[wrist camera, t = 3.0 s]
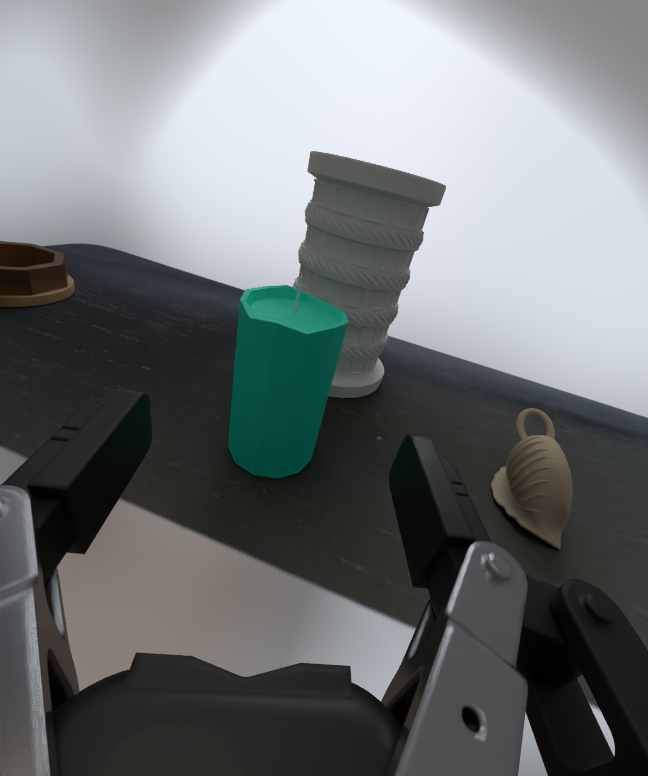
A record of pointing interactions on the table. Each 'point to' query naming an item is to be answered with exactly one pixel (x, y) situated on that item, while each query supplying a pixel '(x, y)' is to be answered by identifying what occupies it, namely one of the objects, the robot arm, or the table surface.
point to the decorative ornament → (536, 482)
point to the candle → (282, 377)
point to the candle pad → (32, 275)
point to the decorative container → (362, 255)
